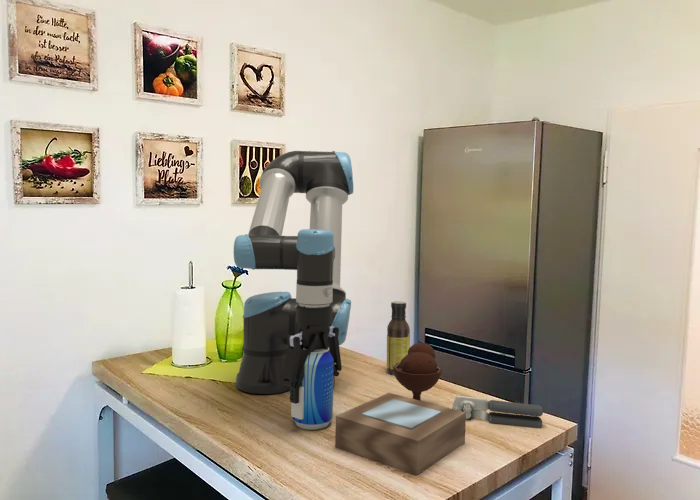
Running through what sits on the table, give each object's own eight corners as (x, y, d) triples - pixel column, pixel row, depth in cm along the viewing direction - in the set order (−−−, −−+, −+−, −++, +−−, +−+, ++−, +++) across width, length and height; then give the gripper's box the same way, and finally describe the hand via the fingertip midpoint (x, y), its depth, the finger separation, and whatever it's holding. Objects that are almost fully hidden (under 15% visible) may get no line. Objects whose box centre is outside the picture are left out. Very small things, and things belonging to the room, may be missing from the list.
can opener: (449, 420, 125) (449, 397, 125) (453, 410, 131) (453, 388, 131) (542, 432, 119) (543, 408, 119) (542, 421, 125) (543, 399, 125)
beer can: (327, 433, 116) (328, 354, 115) (287, 429, 118) (287, 351, 116) (336, 418, 124) (337, 344, 123) (298, 414, 126) (299, 342, 124)
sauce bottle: (414, 375, 157) (416, 302, 155) (396, 379, 153) (398, 304, 152) (398, 369, 162) (400, 299, 161) (381, 373, 158) (383, 301, 157)
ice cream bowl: (390, 400, 136) (392, 337, 135) (438, 401, 136) (440, 339, 135) (392, 416, 126) (394, 348, 125) (444, 418, 125) (446, 350, 124)
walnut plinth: (335, 446, 109) (335, 414, 109) (388, 420, 124) (388, 391, 123) (417, 475, 98) (418, 439, 98) (464, 442, 113) (466, 410, 112)
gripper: (291, 313, 108) (290, 431, 110) (360, 300, 125) (357, 402, 127) (263, 308, 113) (262, 421, 114) (333, 296, 130) (331, 394, 131)
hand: (312, 411), depth 121 cm, fingers open, 9 cm apart
